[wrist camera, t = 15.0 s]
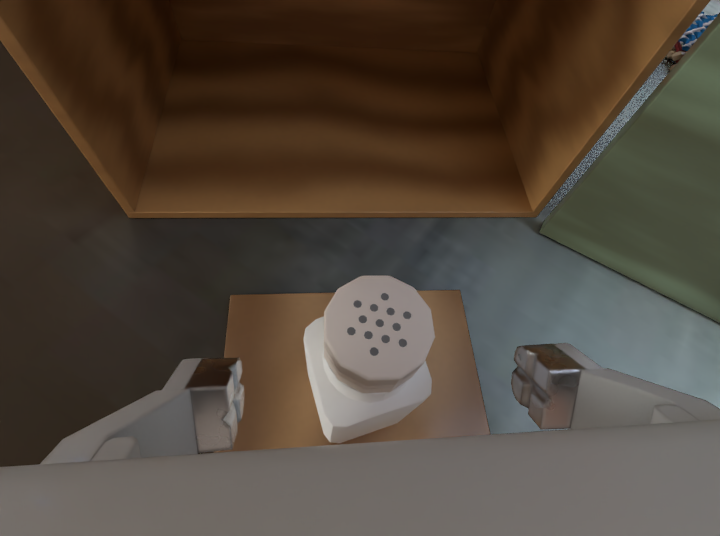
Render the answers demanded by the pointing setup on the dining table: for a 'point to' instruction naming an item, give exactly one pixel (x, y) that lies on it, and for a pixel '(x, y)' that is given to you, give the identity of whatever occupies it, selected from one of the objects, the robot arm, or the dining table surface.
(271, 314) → the coaster
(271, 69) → the cupboard
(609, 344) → the dining table surface
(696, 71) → the cupboard door
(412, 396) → the pepper shaker
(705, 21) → the woven mat
